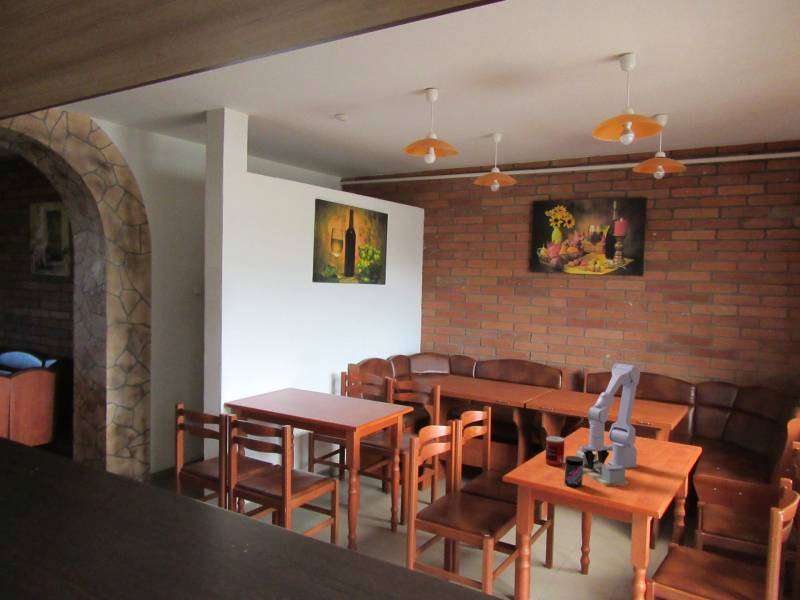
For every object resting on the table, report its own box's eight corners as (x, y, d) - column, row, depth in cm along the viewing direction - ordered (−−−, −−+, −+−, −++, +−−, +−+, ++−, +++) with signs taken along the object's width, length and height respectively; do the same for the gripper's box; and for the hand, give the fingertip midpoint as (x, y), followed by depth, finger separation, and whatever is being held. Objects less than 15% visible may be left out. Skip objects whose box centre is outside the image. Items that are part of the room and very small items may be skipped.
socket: (601, 478, 229) (602, 465, 229) (616, 477, 231) (617, 464, 230) (609, 483, 224) (610, 469, 224) (624, 482, 225) (625, 468, 225)
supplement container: (561, 485, 223) (562, 458, 223) (568, 480, 229) (569, 454, 228) (578, 489, 219) (579, 462, 219) (584, 484, 225) (585, 458, 224)
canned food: (562, 461, 253) (563, 436, 253) (565, 467, 245) (565, 441, 245) (544, 460, 254) (545, 435, 254) (546, 465, 246) (547, 440, 246)
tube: (576, 461, 249) (576, 451, 249) (584, 460, 250) (584, 451, 250) (601, 476, 231) (602, 466, 231) (610, 475, 232) (611, 465, 232)
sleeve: (575, 463, 247) (576, 451, 247) (589, 462, 249) (590, 450, 249) (582, 467, 242) (582, 454, 242) (596, 466, 244) (596, 453, 244)
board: (569, 464, 249) (569, 462, 249) (590, 463, 251) (590, 460, 251) (606, 486, 223) (606, 483, 223) (628, 484, 226) (628, 482, 226)
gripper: (606, 432, 244) (605, 464, 245) (575, 434, 240) (574, 466, 241) (616, 437, 237) (615, 469, 238) (585, 438, 234) (584, 471, 234)
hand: (595, 468), depth 239 cm, fingers closed on tube, 4 cm apart
